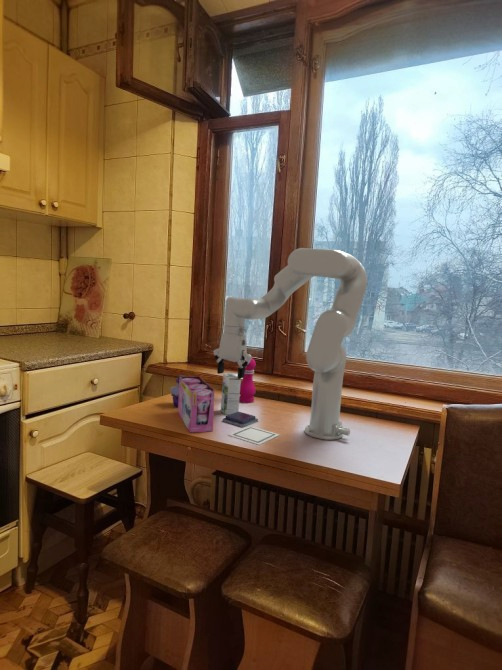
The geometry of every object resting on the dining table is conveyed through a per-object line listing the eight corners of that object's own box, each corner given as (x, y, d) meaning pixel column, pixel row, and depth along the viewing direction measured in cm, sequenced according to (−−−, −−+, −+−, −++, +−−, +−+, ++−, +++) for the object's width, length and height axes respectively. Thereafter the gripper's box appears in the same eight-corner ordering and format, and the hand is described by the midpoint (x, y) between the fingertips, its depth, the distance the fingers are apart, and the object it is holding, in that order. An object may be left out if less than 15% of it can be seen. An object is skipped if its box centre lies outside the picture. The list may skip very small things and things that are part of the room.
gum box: (214, 433, 131) (216, 391, 130) (190, 434, 129) (192, 392, 127) (198, 411, 154) (199, 376, 152) (177, 412, 151) (178, 376, 149)
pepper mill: (254, 403, 169) (257, 356, 166) (237, 402, 169) (240, 355, 167) (255, 399, 176) (257, 353, 174) (238, 398, 176) (241, 352, 174)
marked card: (279, 435, 133) (279, 434, 133) (259, 445, 123) (259, 444, 123) (249, 426, 140) (249, 425, 140) (228, 435, 130) (228, 434, 130)
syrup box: (220, 410, 156) (222, 373, 155) (235, 409, 158) (237, 373, 157) (223, 414, 151) (225, 376, 150) (239, 414, 153) (241, 376, 151)
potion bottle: (175, 401, 165) (177, 372, 164) (195, 404, 162) (196, 374, 161) (165, 406, 157) (166, 376, 156) (185, 409, 154) (186, 378, 153)
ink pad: (257, 421, 146) (258, 416, 145) (243, 427, 138) (243, 421, 138) (237, 416, 151) (238, 410, 150) (222, 421, 143) (222, 415, 143)
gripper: (258, 333, 150) (254, 378, 152) (222, 327, 159) (219, 370, 161) (246, 334, 144) (243, 381, 146) (209, 328, 153) (206, 372, 155)
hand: (230, 375), depth 153 cm, fingers open, 9 cm apart
